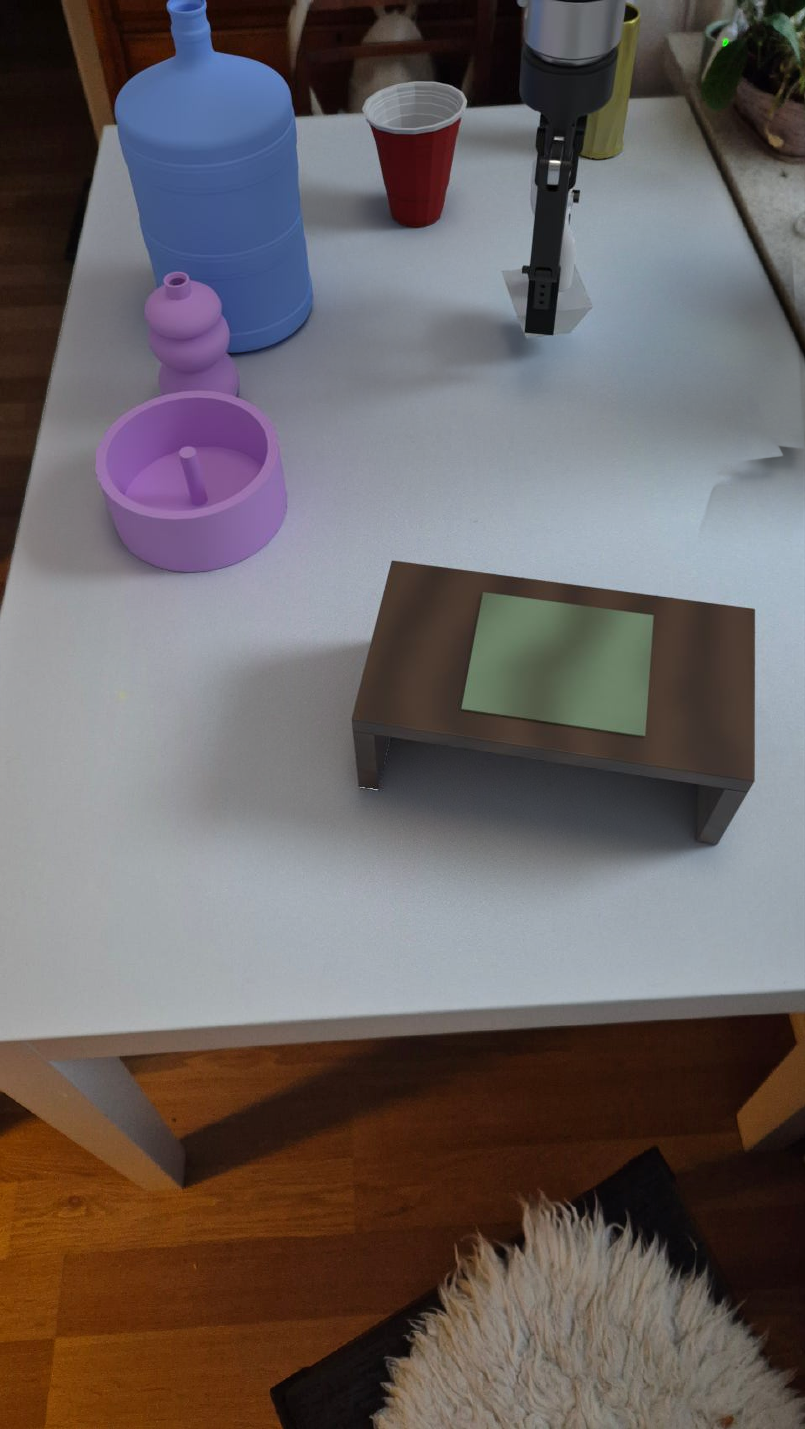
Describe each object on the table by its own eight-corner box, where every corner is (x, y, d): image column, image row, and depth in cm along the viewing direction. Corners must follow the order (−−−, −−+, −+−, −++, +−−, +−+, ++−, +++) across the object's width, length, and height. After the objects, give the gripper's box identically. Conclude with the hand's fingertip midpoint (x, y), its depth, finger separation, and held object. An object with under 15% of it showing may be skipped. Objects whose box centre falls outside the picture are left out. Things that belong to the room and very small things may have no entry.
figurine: (517, 357, 97) (528, 206, 84) (497, 297, 102) (505, 147, 89) (590, 347, 97) (613, 196, 84) (567, 289, 102) (585, 137, 90)
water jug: (274, 372, 99) (228, 65, 76) (135, 336, 102) (50, 31, 79) (338, 281, 107) (315, -23, 83) (206, 250, 110) (149, -51, 87)
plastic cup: (415, 174, 118) (414, 63, 108) (483, 211, 113) (489, 99, 103) (347, 213, 114) (339, 101, 104) (414, 253, 109) (414, 141, 99)
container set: (289, 564, 86) (269, 447, 75) (109, 578, 85) (62, 461, 74) (282, 372, 99) (265, 248, 88) (127, 382, 99) (89, 259, 88)
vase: (569, 158, 119) (586, 23, 107) (573, 130, 122) (590, -3, 110) (621, 162, 118) (644, 27, 106) (624, 134, 122) (646, 0, 110)
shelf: (721, 684, 79) (756, 606, 71) (717, 845, 71) (756, 779, 63) (394, 637, 82) (391, 558, 73) (358, 788, 74) (350, 718, 66)
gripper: (538, -21, 84) (520, 232, 103) (504, 112, 73) (490, 369, 92) (628, -17, 84) (593, 238, 103) (608, 119, 72) (573, 377, 91)
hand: (544, 300), depth 97 cm, fingers closed on figurine, 9 cm apart
